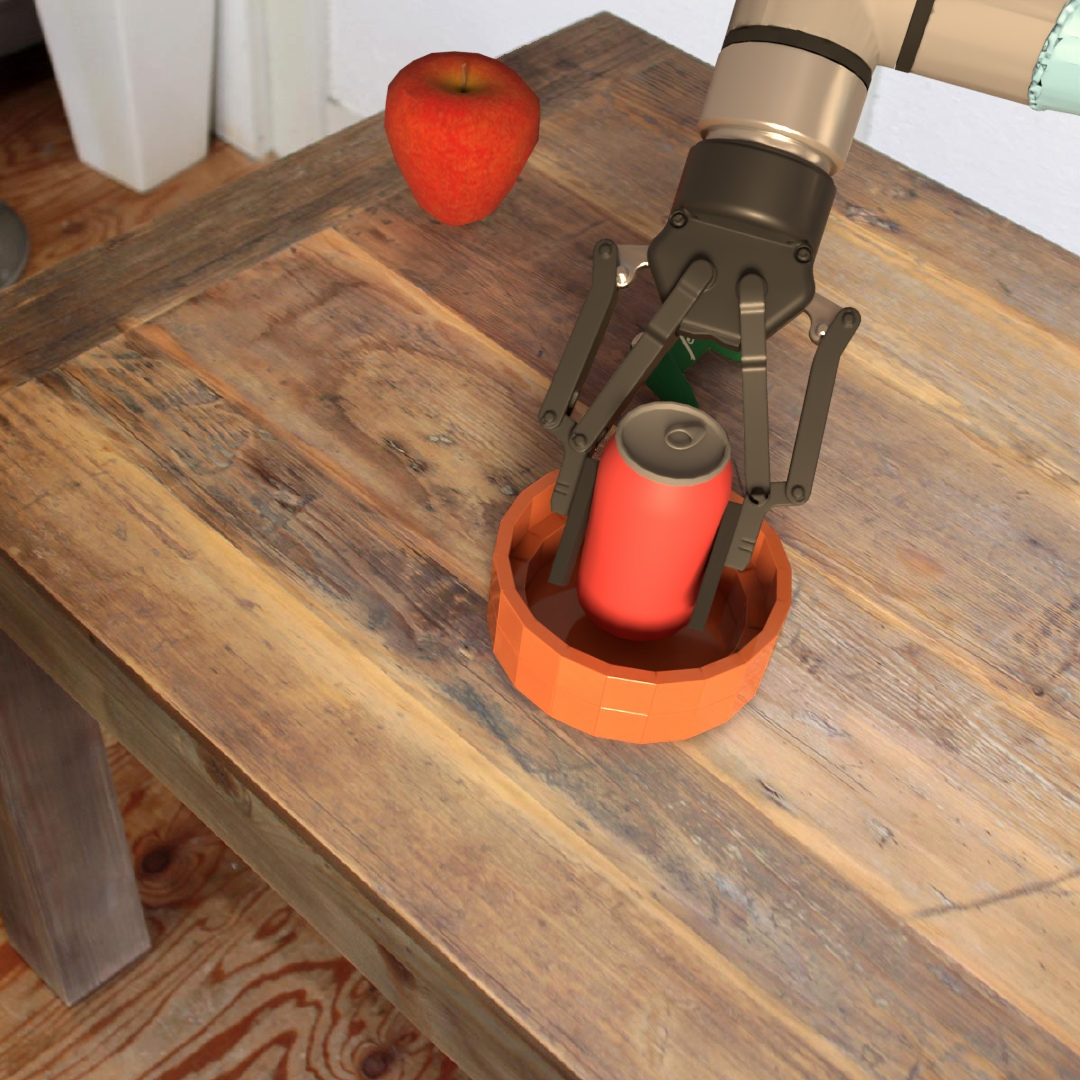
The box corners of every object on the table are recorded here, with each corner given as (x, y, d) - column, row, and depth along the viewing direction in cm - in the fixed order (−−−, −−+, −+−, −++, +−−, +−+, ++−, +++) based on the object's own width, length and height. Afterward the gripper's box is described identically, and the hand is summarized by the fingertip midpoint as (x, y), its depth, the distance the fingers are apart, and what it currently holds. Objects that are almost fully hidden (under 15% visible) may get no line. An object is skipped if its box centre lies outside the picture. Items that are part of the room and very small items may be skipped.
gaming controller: (722, 363, 93) (681, 289, 92) (764, 349, 90) (722, 272, 89) (653, 431, 88) (608, 354, 86) (695, 419, 85) (649, 339, 83)
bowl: (768, 552, 79) (792, 481, 75) (763, 774, 69) (791, 707, 64) (508, 509, 79) (517, 436, 75) (465, 724, 69) (472, 654, 64)
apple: (551, 244, 98) (571, 94, 89) (412, 268, 94) (417, 113, 85) (496, 162, 104) (509, 14, 95) (364, 181, 101) (364, 29, 92)
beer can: (719, 617, 72) (770, 459, 63) (622, 667, 69) (661, 508, 60) (646, 538, 75) (684, 376, 66) (550, 582, 72) (577, 419, 63)
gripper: (949, 229, 68) (812, 658, 69) (586, 131, 71) (460, 545, 72) (975, 193, 61) (820, 674, 62) (568, 85, 63) (428, 548, 65)
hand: (627, 604), depth 67 cm, fingers closed on beer can, 7 cm apart
